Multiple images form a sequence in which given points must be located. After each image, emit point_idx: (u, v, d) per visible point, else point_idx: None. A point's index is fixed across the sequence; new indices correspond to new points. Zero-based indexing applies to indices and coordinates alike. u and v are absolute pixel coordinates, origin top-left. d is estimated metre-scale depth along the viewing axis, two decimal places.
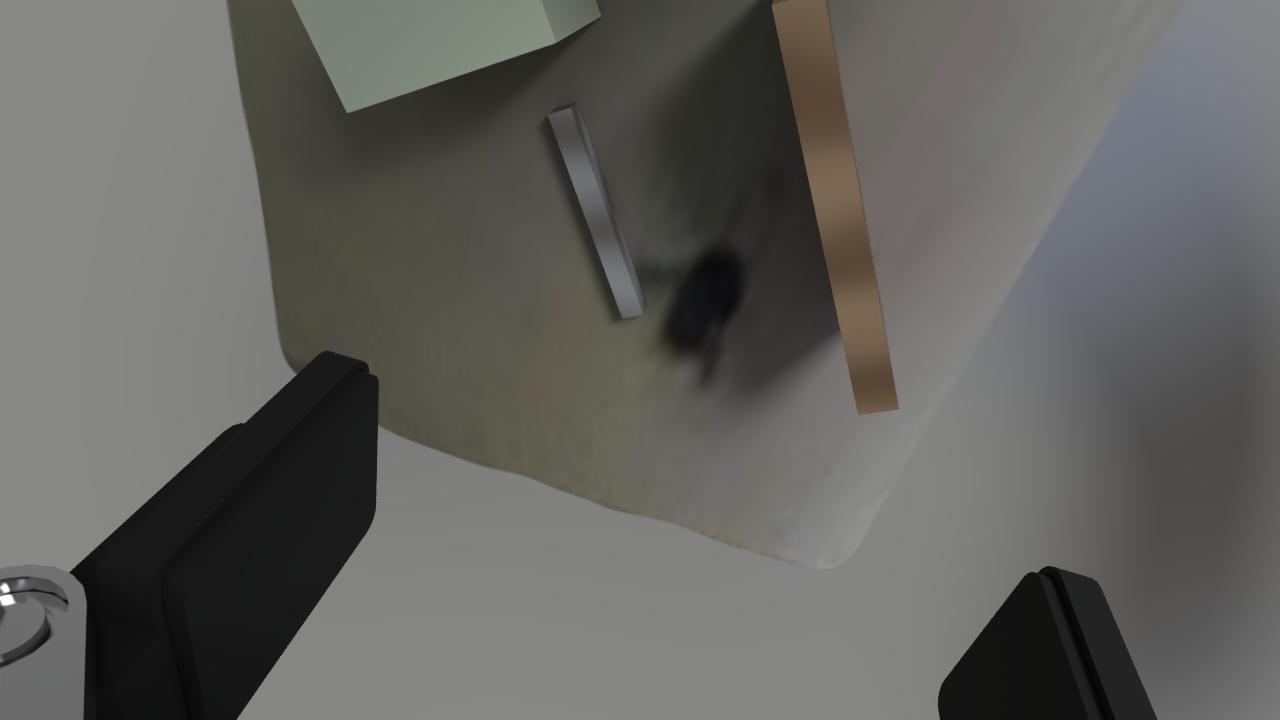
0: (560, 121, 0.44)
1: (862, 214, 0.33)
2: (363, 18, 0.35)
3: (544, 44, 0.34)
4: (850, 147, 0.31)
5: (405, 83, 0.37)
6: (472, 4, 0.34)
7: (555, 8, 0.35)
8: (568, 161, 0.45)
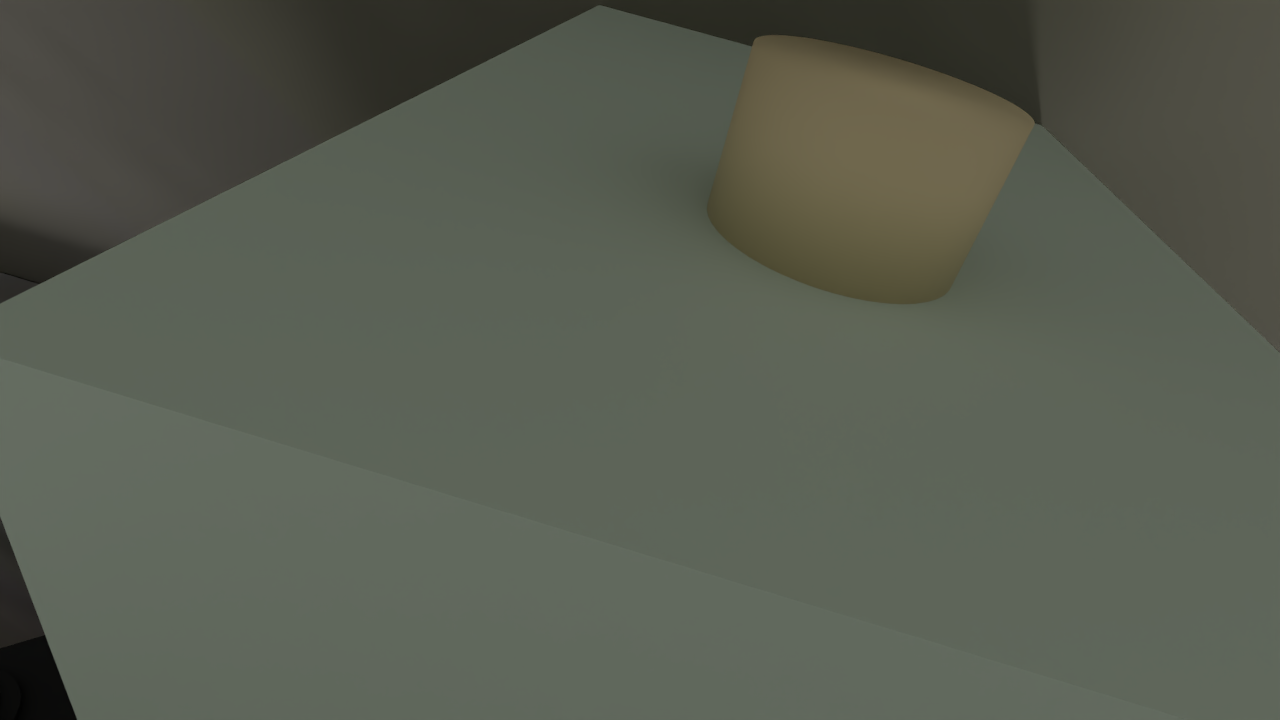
0: None
1: None
2: None
3: None
4: None
5: None
6: None
7: None
8: None
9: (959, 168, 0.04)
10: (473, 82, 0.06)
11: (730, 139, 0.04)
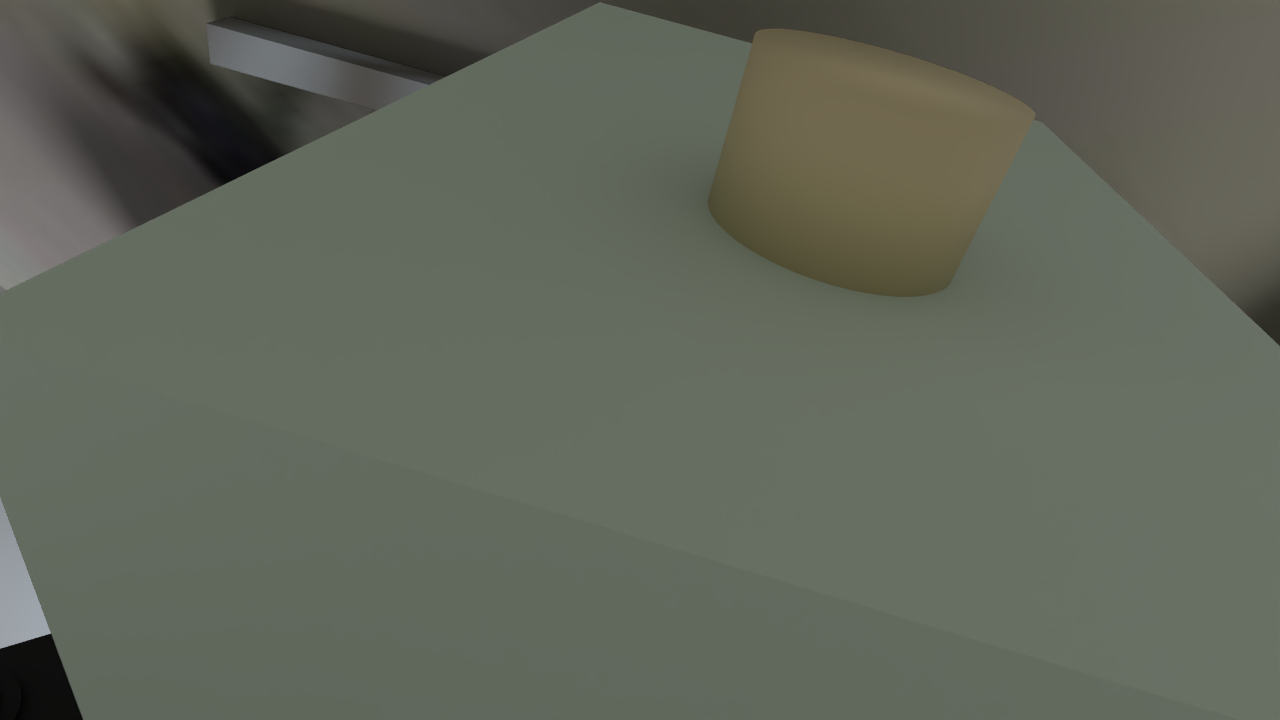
0: None
1: None
2: None
3: None
4: None
5: None
6: None
7: None
8: None
9: (961, 160, 0.04)
10: (475, 77, 0.06)
11: (731, 132, 0.04)
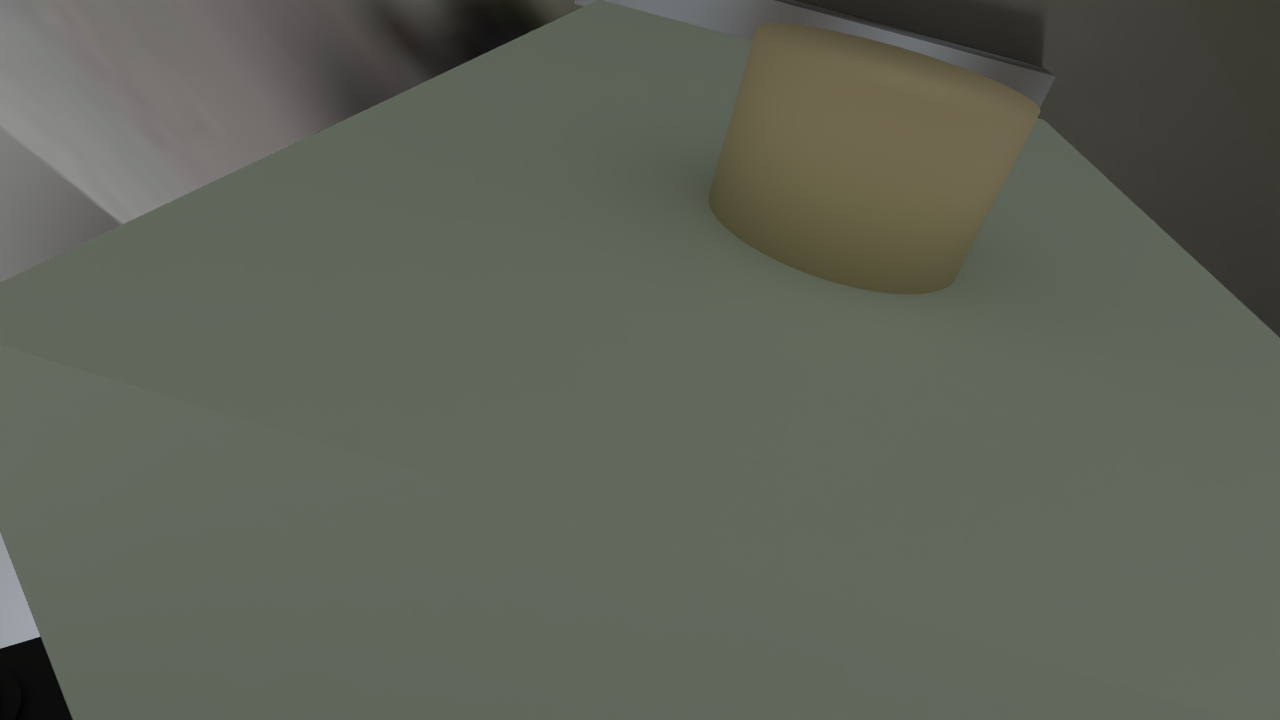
0: (1025, 93, 0.21)
1: None
2: None
3: None
4: None
5: None
6: None
7: None
8: (951, 56, 0.21)
9: (966, 154, 0.04)
10: (473, 73, 0.06)
11: (732, 127, 0.04)
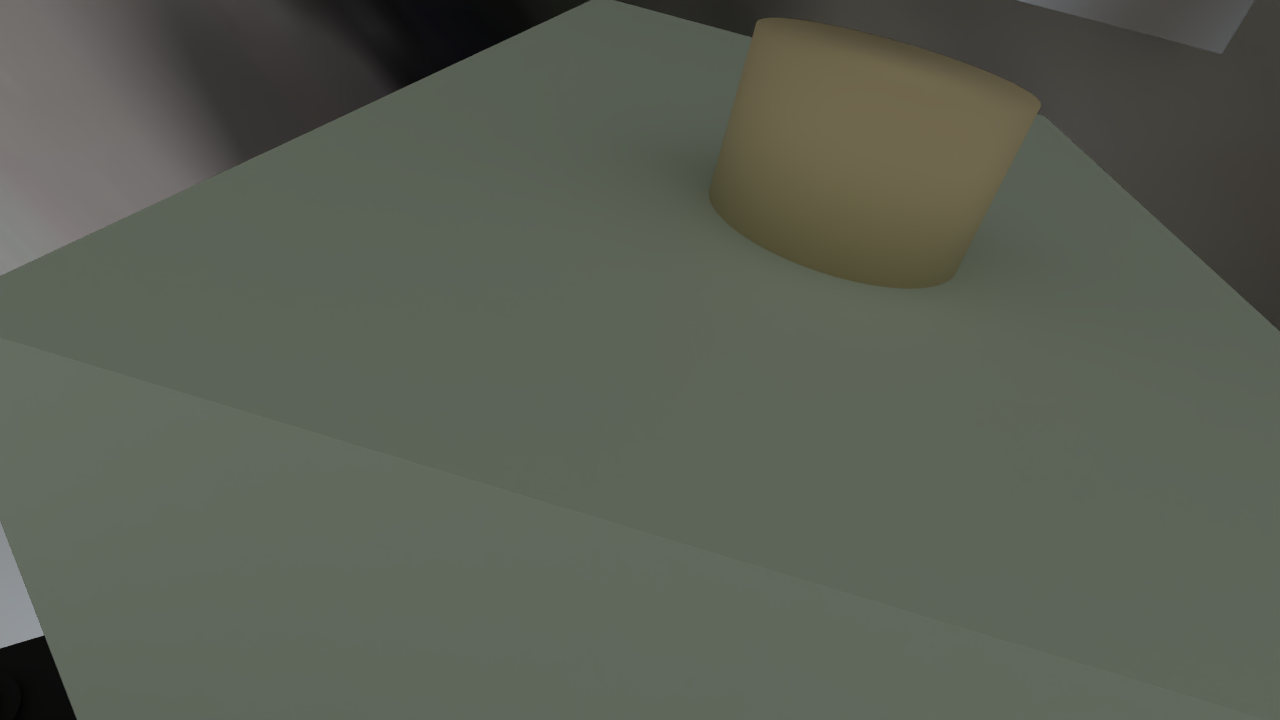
0: None
1: None
2: None
3: None
4: None
5: None
6: None
7: None
8: None
9: (966, 150, 0.04)
10: (473, 69, 0.06)
11: (732, 122, 0.04)
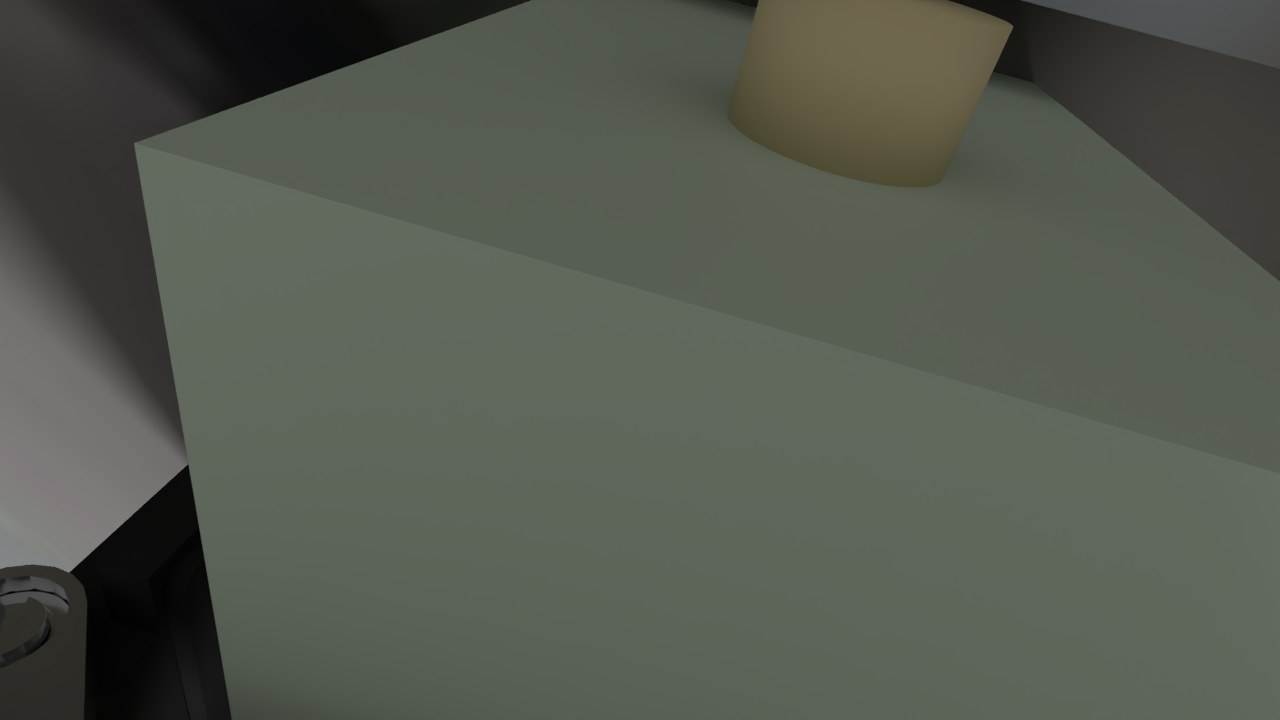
0: None
1: None
2: None
3: None
4: None
5: (284, 700, 0.05)
6: None
7: None
8: None
9: (948, 58, 0.04)
10: (514, 16, 0.06)
11: (749, 47, 0.05)
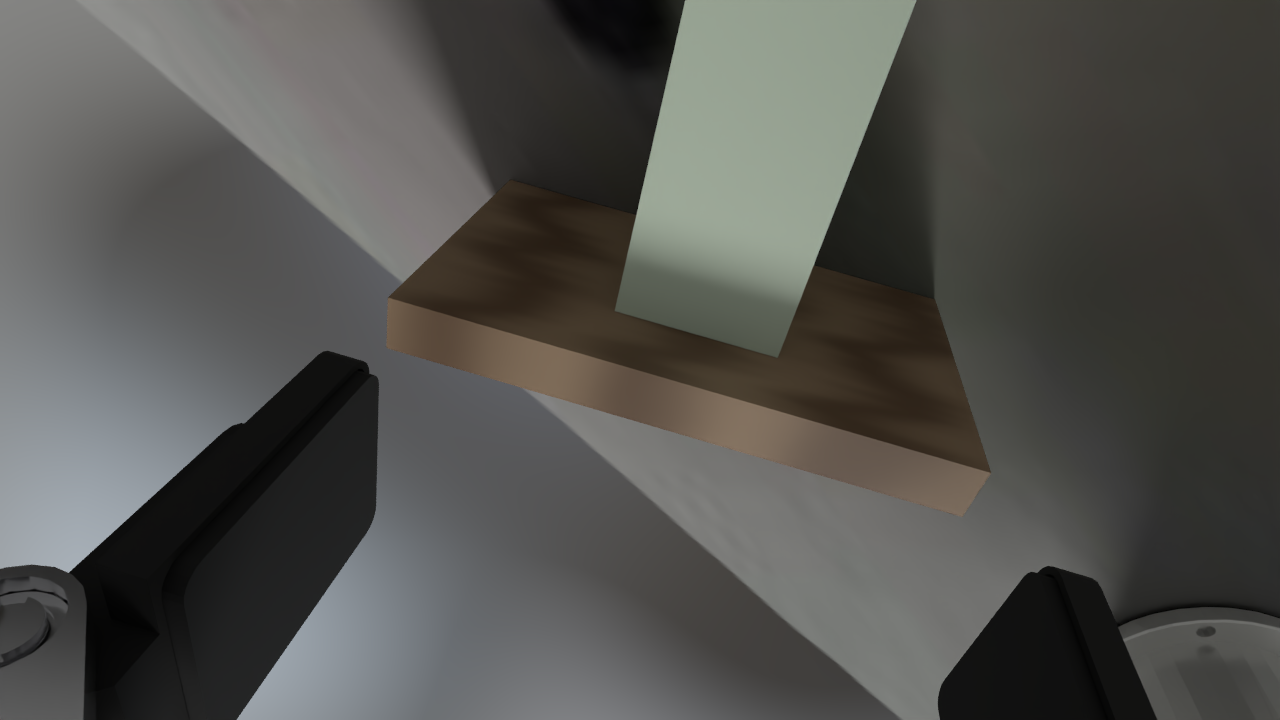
0: None
1: (690, 435, 0.25)
2: (796, 89, 0.21)
3: (620, 298, 0.26)
4: (778, 462, 0.25)
5: (681, 81, 0.22)
6: (709, 251, 0.24)
7: None
8: None
9: None
10: None
11: None
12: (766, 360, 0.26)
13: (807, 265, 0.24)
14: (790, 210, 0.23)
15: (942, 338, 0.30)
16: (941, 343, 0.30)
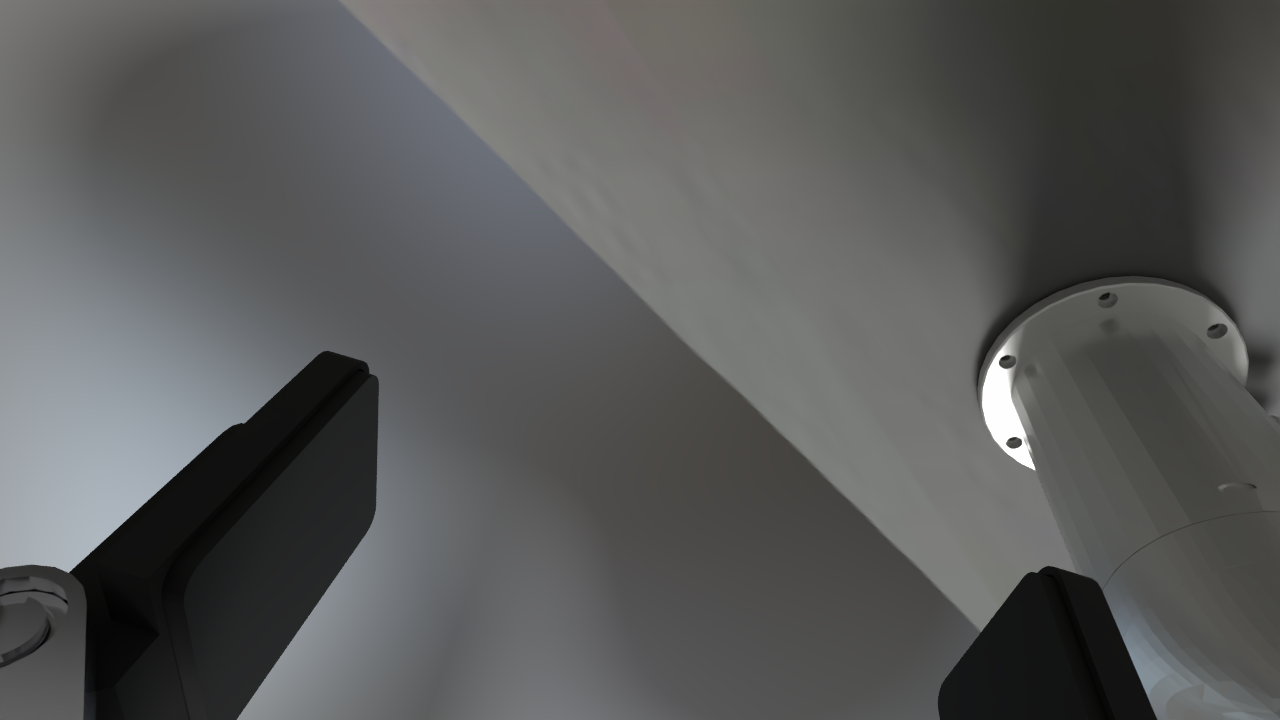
0: None
1: None
2: None
3: None
4: None
5: None
6: None
7: None
8: None
9: None
10: None
11: None
12: None
13: None
14: None
15: None
16: None
